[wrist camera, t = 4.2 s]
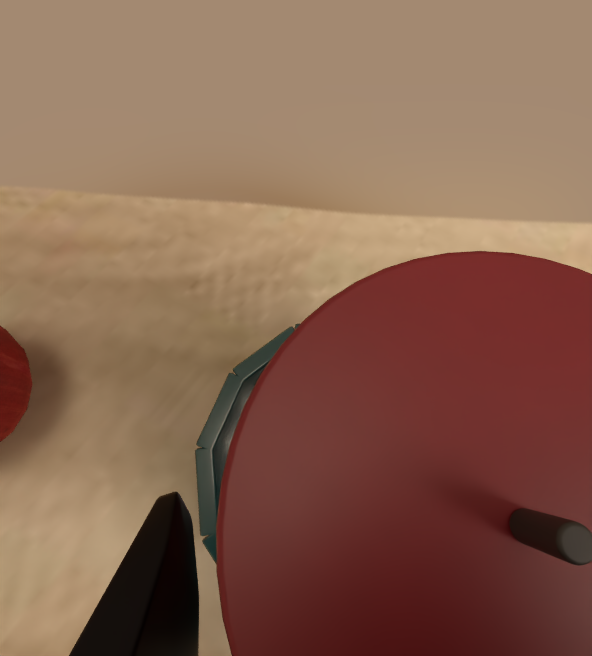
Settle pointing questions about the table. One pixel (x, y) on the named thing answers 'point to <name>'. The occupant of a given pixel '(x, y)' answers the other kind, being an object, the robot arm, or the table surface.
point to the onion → (12, 383)
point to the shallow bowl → (226, 434)
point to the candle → (419, 470)
